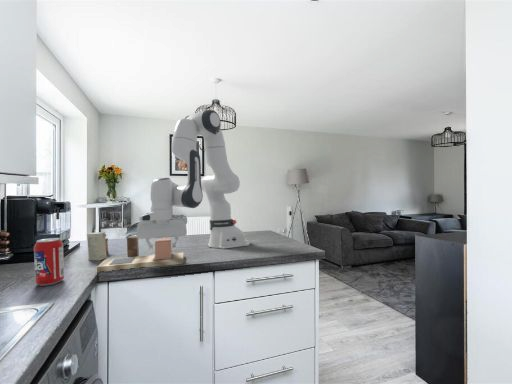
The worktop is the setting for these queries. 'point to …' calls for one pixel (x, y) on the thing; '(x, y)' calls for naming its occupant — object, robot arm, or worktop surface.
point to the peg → (132, 246)
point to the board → (141, 262)
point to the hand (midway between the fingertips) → (162, 247)
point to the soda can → (48, 261)
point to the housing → (163, 249)
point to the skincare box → (96, 246)
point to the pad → (122, 260)
